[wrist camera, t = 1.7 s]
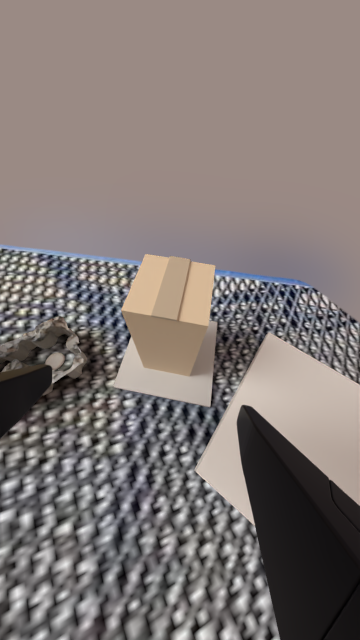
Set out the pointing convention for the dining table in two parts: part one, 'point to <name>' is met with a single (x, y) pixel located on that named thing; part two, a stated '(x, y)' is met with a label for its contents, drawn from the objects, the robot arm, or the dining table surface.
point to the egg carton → (45, 339)
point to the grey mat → (171, 375)
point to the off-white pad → (290, 420)
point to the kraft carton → (169, 312)
